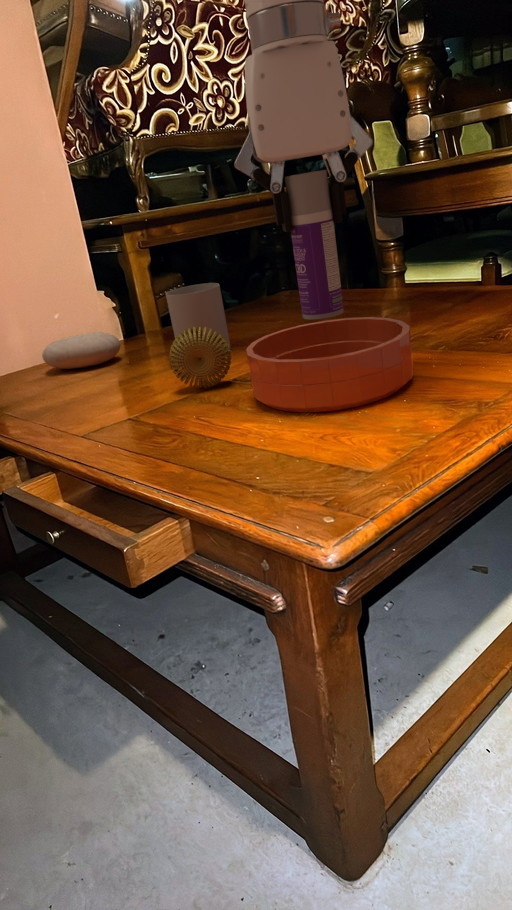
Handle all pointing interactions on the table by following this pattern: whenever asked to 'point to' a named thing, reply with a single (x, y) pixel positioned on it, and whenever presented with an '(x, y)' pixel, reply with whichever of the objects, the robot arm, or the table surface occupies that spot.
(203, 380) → the sculpture
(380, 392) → the bowl
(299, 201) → the container
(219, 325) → the cup
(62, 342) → the decorative stone
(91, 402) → the table surface
